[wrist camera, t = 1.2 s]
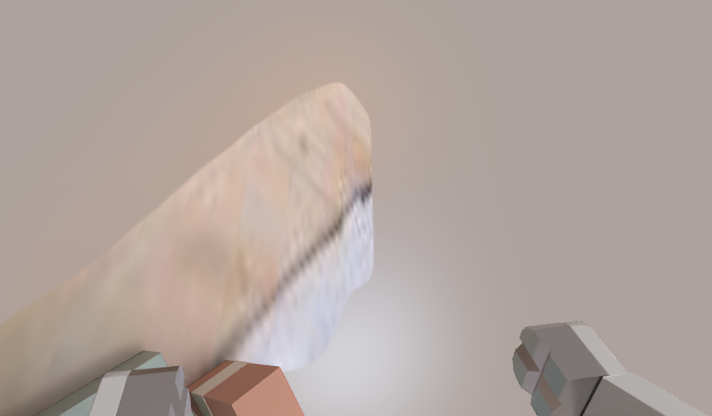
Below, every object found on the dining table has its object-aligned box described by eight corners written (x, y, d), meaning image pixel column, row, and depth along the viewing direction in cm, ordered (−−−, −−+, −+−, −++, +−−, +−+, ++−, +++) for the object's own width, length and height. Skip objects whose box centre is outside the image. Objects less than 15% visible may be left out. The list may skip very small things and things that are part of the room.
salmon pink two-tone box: (205, 433, 45) (258, 459, 36) (182, 390, 44) (230, 404, 35) (247, 400, 48) (305, 416, 39) (226, 359, 48) (280, 365, 39)
